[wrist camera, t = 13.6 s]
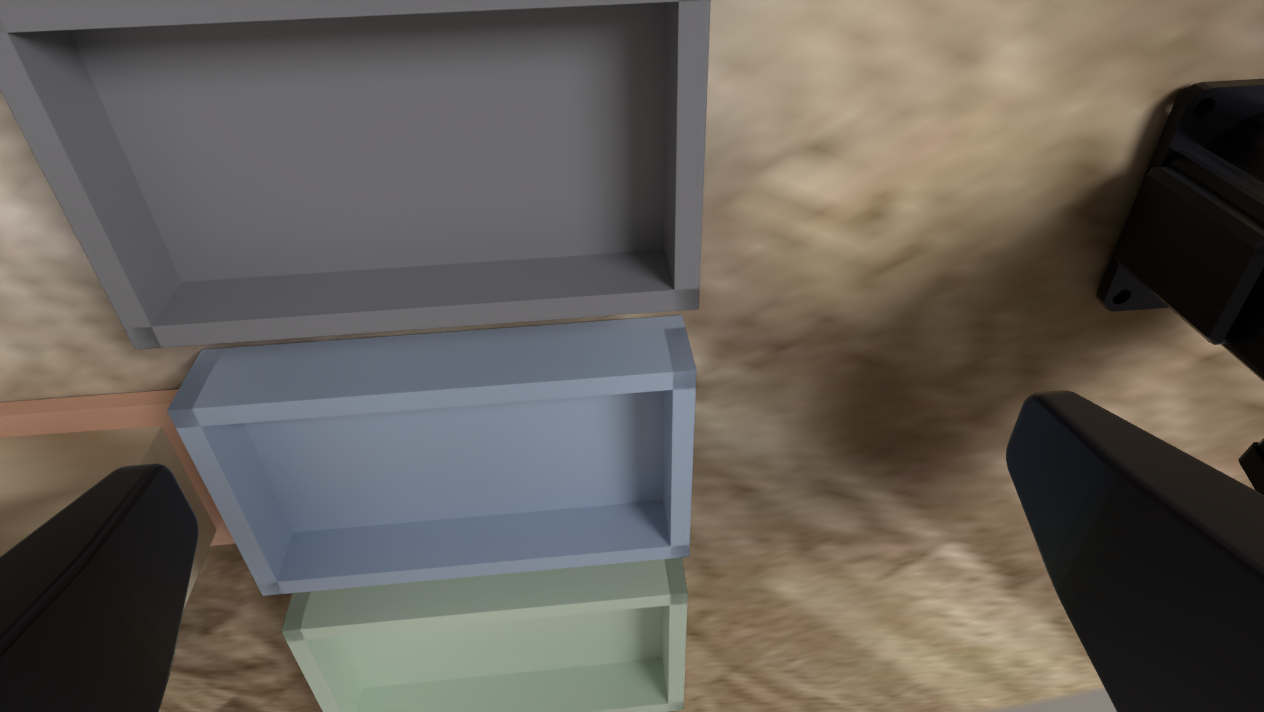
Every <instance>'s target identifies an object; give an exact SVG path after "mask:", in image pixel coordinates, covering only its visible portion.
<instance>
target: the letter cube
mask: <svg viewBox="0 0 1264 712" xmlns="http://www.w3.org/2000/svg"><path fill="white" fill-rule="evenodd" d="M154 463H158V464H163V465H165V466H166V467H168V468H169V469H170V470H171V471H172V473H173V475H174V476H175V478H176V480H177V482H178V484H179V485H180V487H181V489H182V491H183V493H184V495H185V496H186V498H187V500H188V502H189V504H190V506H191V507H192V509H193V511H194V513H195V515H196V518H197V522H198V528H199V534H198V542H197V547H196V552H195V557H194V562H193V567H192V572H191V576H190V581H189V586H188V591H187V596H186V601H185V605H184V608H185V606H186V603H187V601H188V598H189V596H190V594H191V591H192V589H193V586H194V584H195V581H196V579H197V577H198V574H199V572H200V569H201V567H202V565H203V562H204V560H205V557H206V555H207V553H208V550H209V548H210V545H211V543H212V540H213V538H214V536H215V533H216V531H217V530H216V528H215V526H214V524H213V522H212V520H211V518H210V516H209V514H208V513H207V511H206V509H205V507H204V505H203V503H202V501H201V499H200V497H199V495H198V494H197V492H196V490H195V488H194V486H193V484H192V482H191V480H190V478H189V476H188V475H187V473H186V471H185V469H184V467H183V465H182V463H181V461H180V459H179V458H178V456H177V454H176V452H175V450H174V448H173V446H172V444H171V442H170V440H169V439H168V437H167V435H166V433H165V431H164V429H163V427H162V426H150V427H137V428H123V429H110V430H97V431H83V432H70V433H57V434H43V435H30V436H16V437H3V438H0V556H2V555H3V554H4V553H6V552H7V551H8V550H9V549H11V548H12V547H13V546H15V545H16V544H17V543H19V542H20V541H21V540H23V539H24V538H25V537H27V536H28V535H29V534H31V533H32V532H33V531H34V530H36V529H37V528H38V527H40V526H41V525H42V524H44V523H45V522H46V521H48V520H49V519H50V518H52V517H53V516H54V515H56V514H57V513H58V512H60V511H61V510H62V509H63V508H65V507H66V506H67V505H69V504H70V503H71V502H73V501H74V500H75V499H77V498H78V497H79V496H81V495H82V494H83V493H85V492H86V491H87V490H88V489H90V488H91V487H92V486H94V485H95V484H96V483H98V482H99V481H100V480H102V479H103V478H104V477H106V476H107V475H108V474H110V473H111V472H112V471H114V470H115V469H117V468H120V467H124V466H130V465H142V464H154Z"/></svg>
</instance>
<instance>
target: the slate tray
mask: <svg viewBox="0 0 1264 712" xmlns="http://www.w3.org/2000/svg"><path fill="white" fill-rule="evenodd" d="M695 392H696V367H695V363H694V359H693V355H692V351H691V347H690V344H689V340H688V336H687V332H686V328H685V324H684V320H683V316H682V315H677V316H663V317H649V318H635V319H621V320H608V321H594V322H580V323H566V324H552V325H538V326H524V327H510V328H496V329H482V330H468V331H455V332H441V333H427V334H413V335H399V336H385V337H371V338H357V339H343V340H329V341H315V342H302V343H288V344H274V345H260V346H246V347H232V348H218V349H204V350H201V351H200V353H199V355H198V356H197V358H196V360H195V362H194V363H193V365H192V367H191V369H190V371H189V372H188V374H187V376H186V378H185V379H184V381H183V383H182V385H181V386H180V388H179V390H178V392H177V393H176V395H175V397H174V399H173V401H172V402H171V404H170V406H169V408H168V409H167V412H168V414H169V416H170V418H171V420H172V422H173V424H174V426H175V428H176V430H177V431H178V433H179V435H180V437H181V439H182V441H183V443H184V445H185V447H186V449H187V451H188V453H189V455H190V457H191V458H192V460H193V462H194V464H195V466H196V468H197V470H198V472H199V474H200V476H201V478H202V480H203V482H204V484H205V485H206V487H207V489H208V491H209V493H210V495H211V497H212V499H213V501H214V503H215V505H216V507H217V509H218V511H219V512H220V514H221V516H222V518H223V520H224V522H225V524H226V526H227V528H228V530H229V532H230V534H231V536H232V538H233V539H234V541H235V543H236V545H237V547H238V549H239V551H240V553H241V555H242V557H243V559H244V561H245V563H246V564H247V566H248V568H249V570H250V572H251V574H252V576H253V578H254V580H255V582H256V584H257V586H258V588H259V590H260V591H261V593H262V595H263V596H266V595H277V594H288V593H299V592H310V591H321V590H332V589H343V588H354V587H364V586H375V585H386V584H397V583H408V582H419V581H430V580H441V579H452V578H463V577H474V576H485V575H496V574H507V573H517V572H528V571H539V570H550V569H561V568H572V567H583V566H594V565H605V564H616V563H627V562H638V561H649V560H659V559H670V558H681V557H689V548H690V522H691V496H692V470H693V444H694V418H695Z"/></svg>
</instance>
